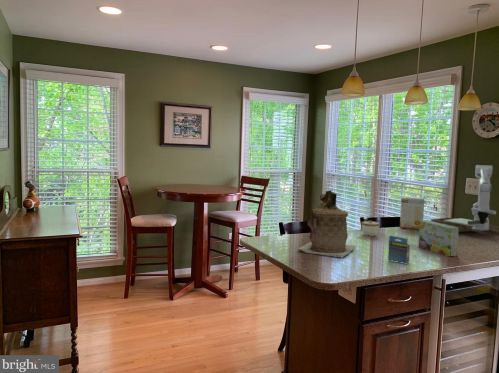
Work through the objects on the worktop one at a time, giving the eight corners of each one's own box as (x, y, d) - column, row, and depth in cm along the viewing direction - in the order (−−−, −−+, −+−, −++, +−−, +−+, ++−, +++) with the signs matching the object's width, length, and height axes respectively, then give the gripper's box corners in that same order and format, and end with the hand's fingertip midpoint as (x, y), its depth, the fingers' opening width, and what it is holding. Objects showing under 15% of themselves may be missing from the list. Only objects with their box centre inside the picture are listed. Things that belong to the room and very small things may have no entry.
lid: (461, 219, 273) (461, 215, 273) (487, 223, 257) (487, 219, 257) (444, 221, 264) (444, 217, 264) (470, 225, 249) (470, 221, 249)
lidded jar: (380, 237, 240) (381, 222, 239) (362, 236, 241) (362, 221, 240) (377, 233, 250) (378, 219, 249) (359, 232, 252) (360, 218, 251)
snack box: (417, 247, 216) (419, 220, 215) (425, 246, 218) (427, 219, 217) (449, 257, 197) (451, 227, 195) (457, 256, 199) (459, 227, 197)
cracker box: (422, 229, 269) (424, 198, 267) (421, 230, 264) (423, 199, 262) (401, 226, 276) (403, 196, 274) (399, 227, 271) (401, 197, 269)
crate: (447, 225, 282) (447, 217, 282) (471, 230, 267) (472, 221, 266) (430, 227, 274) (431, 219, 273) (455, 232, 258) (455, 223, 258)
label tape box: (409, 263, 185) (410, 237, 184) (406, 264, 182) (407, 238, 181) (390, 259, 191) (392, 234, 190) (387, 261, 188) (388, 235, 186)
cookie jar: (357, 249, 210) (360, 189, 207) (343, 259, 188) (345, 193, 185) (313, 242, 222) (315, 186, 219) (295, 252, 201) (297, 189, 198)
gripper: (469, 201, 254) (467, 222, 256) (492, 204, 242) (490, 226, 243) (475, 201, 258) (474, 221, 259) (498, 203, 245) (496, 225, 246)
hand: (482, 223), depth 251 cm, fingers closed
